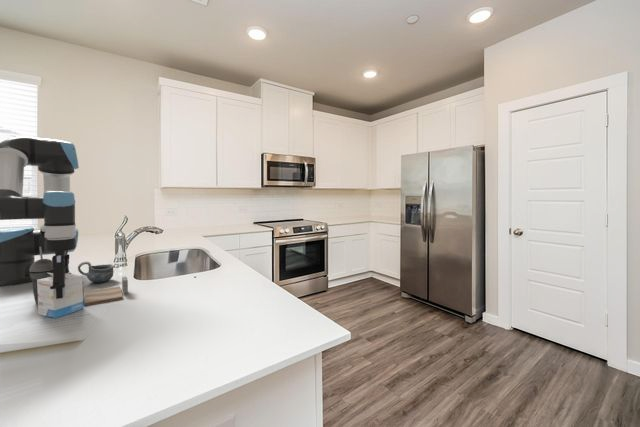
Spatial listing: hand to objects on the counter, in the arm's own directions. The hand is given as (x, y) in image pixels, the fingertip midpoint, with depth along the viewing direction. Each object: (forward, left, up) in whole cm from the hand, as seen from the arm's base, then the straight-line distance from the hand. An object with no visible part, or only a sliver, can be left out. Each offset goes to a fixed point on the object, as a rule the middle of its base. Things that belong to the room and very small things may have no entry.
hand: (62, 301), depth 92 cm
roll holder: (-9, +11, -3) cm, 15 cm away
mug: (-32, +9, -4) cm, 33 cm away
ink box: (0, 0, -4) cm, 4 cm away
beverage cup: (-14, -6, -3) cm, 16 cm away
